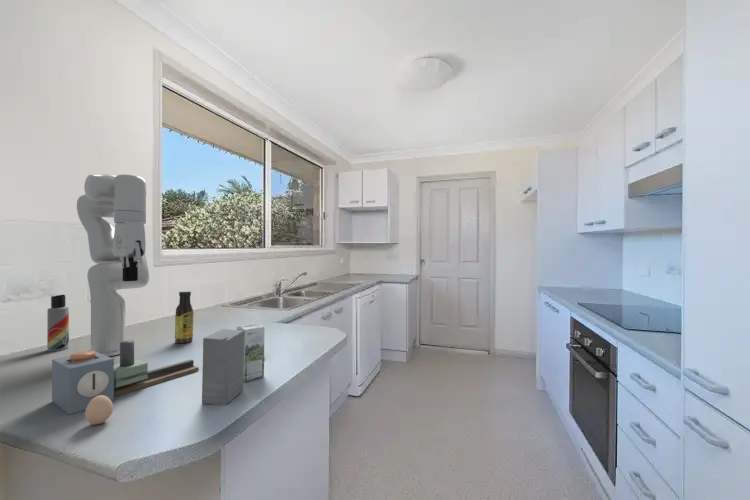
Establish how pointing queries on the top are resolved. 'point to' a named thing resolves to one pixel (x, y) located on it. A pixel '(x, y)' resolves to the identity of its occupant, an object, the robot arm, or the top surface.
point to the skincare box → (222, 366)
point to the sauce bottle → (184, 319)
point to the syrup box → (253, 351)
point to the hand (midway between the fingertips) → (130, 280)
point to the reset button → (82, 356)
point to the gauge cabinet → (81, 381)
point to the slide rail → (159, 376)
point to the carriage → (129, 366)
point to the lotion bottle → (57, 324)
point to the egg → (99, 409)
